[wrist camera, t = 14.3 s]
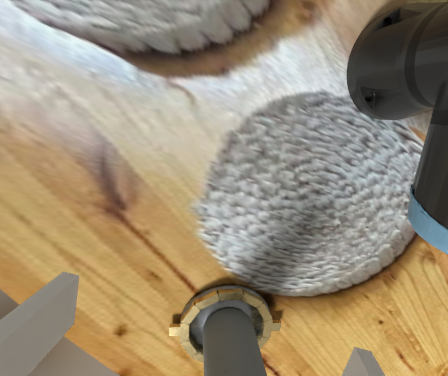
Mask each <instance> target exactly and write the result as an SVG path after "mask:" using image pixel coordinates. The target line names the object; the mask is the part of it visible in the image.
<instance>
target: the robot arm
mask: <svg viewBox="0 0 448 376" xmlns="http://www.w3.org/2000/svg"><path fill="white" fill-rule="evenodd" d="M347 85H348V90H349V93H350V96H351V98H352V100H353V102H354V104H355V105H356V107H357V108H358V109H359V110H360V111H361V112H363V113H364V114H365V115H367V116H369V117H371V118H375V119H380V120H400V119H405V118H408V117H411V116H414V115H417V114H420V113H423V112H426V111H429V110H432V109H433V114H432V118H431V121H430V125H429V128H428V132H427V135H426V139H425V143H424V146H423V150H422V154H421V157H420V161H419V165H418V168H417V172H416V175H415V179H414V183H413V184H412V185H411V188H410V196H411V197H410V202H409V207H408V220H409V222H410V223H411V225H412V227H413V229H414V230H415V231H416V232H417V233H418V234H419V235H420V236H421V237H422V238H423V239H424V240H425V241H427V242H428V243H429V244H431V245H432V246H434V247H436V248H437V249H439V250H441V251H442V252H444V253H446V254H448V2H439V3H415V4H408V5H404V6H400V7H398V8H395V9H393V10H391V11H389V12H387V13H385V14H383V15H381V16H380V17H378V18H377V19H375V20H374V21H373V22H372V23H370V24H369V25H368V26H367V27H366V29H365V30H364V31H363V32H362V33H361V35H360V36H359V38H358V39H357V41H356V43H355V45H354V47H353V49H352V52H351V55H350V58H349V62H348V68H347ZM78 281H79V275H75V274H71V273H67V272H62V273H61V274H60V275H58V276H57V277H56V278H54V279H53V280H52V281H51V282H49V283H48V284H47V285H45V286H44V287H43V288H41V289H40V290H39V291H38V292H36V293H35V294H34V295H32V296H31V297H30V298H28V299H27V300H26V301H25V302H23V303H22V304H21V305H19V306H18V307H17V308H16V309H14V310H13V311H12V312H10V313H9V314H8V315H6V316H5V317H4V318H2V319H1V320H0V376H28V375H29V374H30V373H31V371H32V370H33V369H34V368H35V367H36V366H37V365H38V364H39V363H40V361H41V360H42V359H43V358H44V357H45V356H46V355H47V353H48V352H49V351H50V350H51V349H52V348H53V347H54V345H56V343H57V342H58V341H59V340H60V339H61V338H62V337H63V336H64V334H65V333H66V332H67V331H68V330H69V329H70V328H71V327H72V325H73V324H74V319H75V310H76V300H77V291H78ZM342 376H385V374H384V373H383V371H382V369H381V368H380V366H379V364H378V362H377V361H376V359H375V357H374V356H373V354H372V352H371V351H368V350H364V349H360V348H356V347H354V349H353V351H352V354H351V356H350V358H349V360H348V363H347V365H346V367H345V370H344V372H343V374H342Z"/></svg>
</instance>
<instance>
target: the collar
mask: <svg viewBox="0 0 448 376" xmlns="http://www.w3.org/2000/svg"><path fill="white" fill-rule="evenodd" d="M226 308H235V309H239V310H242V311H243V312H245V313H246V314H247V315H248V316H249V317H250V319H251V320H252V323H253V327H254V330H255V334H256V338H257V341H258V345H259V348H260V349H261V348H262V347H263V345H264V344H265V343H266V342H267V341H268V340H269V338H270V334H271V331H280V327H281V321H280V320H273V318H272V315H271V313H270V310H269V307H268V305H267V303H266V301H265V299H264V298H263V297H262V296H261V295H260V294H259V293H258V292H257V291H255V290H253V289H251V288H249V287H247V286H243V285H238V284H222V285H217V286H213V287H210V288H208V289H206V290H204V291H202V292H200V293H198V294H197V295H196V296H194V297H193V298H192V299H191V300H190V301H189V302H188V303H187V305H186V306H185V308H184V310H183V312H182V314H181V318H180V324H170V327H169V336H178V335H180V344H181V345H182V346H183V347H184V349H185V350H186V351H187V353H188V354H189V355H190V356H191V357H192V358H193V359H196V360H198V361H201V362H204V357H203V333H202V332H203V326H204V323H205V322H206V320H207V319H208V318H209V316H210V315H212V314H213V313H215V312H216V311H218V310H221V309H226Z"/></svg>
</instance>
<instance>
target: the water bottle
mask: <svg viewBox="0 0 448 376" xmlns="http://www.w3.org/2000/svg"><path fill="white" fill-rule="evenodd" d="M202 333H203V357H204V376H267V374H266V370H265V367H264V363H263V359H262V356H261V352H260V348H259V345H258V341H257V338H256V334H255V330H254V327H253V323H252V320H251V319H250V317H249V316H248V315H247V314H246V313H245V312H243V311H242V310H239V309H235V308H226V309H221V310H218V311H216V312H215V313H213V314H212V315H210V316H209V318H208V319H207V320H206V322H205V323H204V326H203V332H202Z"/></svg>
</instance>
